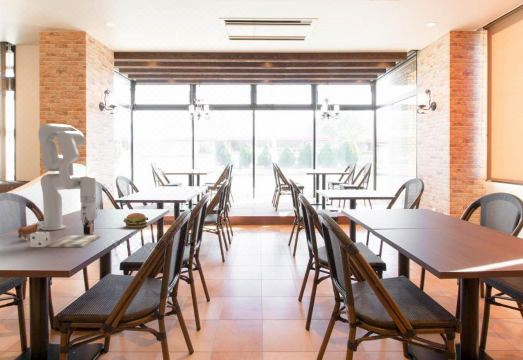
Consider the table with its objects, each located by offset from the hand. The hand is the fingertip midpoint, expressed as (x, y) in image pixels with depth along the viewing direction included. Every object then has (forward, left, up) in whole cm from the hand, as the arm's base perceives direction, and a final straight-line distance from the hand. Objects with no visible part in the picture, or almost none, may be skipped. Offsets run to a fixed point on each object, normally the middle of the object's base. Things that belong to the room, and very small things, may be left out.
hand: (88, 232), depth 214 cm
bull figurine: (-25, -11, -1) cm, 27 cm away
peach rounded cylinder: (0, 0, -1) cm, 1 cm away
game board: (0, -16, -1) cm, 16 cm away
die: (-13, -24, -1) cm, 27 cm away
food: (+17, +26, -2) cm, 31 cm away
